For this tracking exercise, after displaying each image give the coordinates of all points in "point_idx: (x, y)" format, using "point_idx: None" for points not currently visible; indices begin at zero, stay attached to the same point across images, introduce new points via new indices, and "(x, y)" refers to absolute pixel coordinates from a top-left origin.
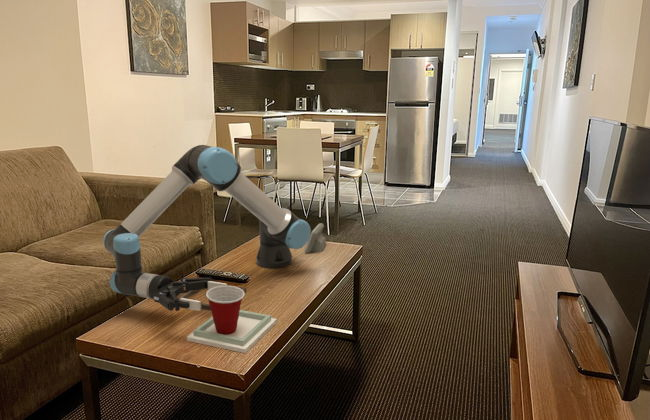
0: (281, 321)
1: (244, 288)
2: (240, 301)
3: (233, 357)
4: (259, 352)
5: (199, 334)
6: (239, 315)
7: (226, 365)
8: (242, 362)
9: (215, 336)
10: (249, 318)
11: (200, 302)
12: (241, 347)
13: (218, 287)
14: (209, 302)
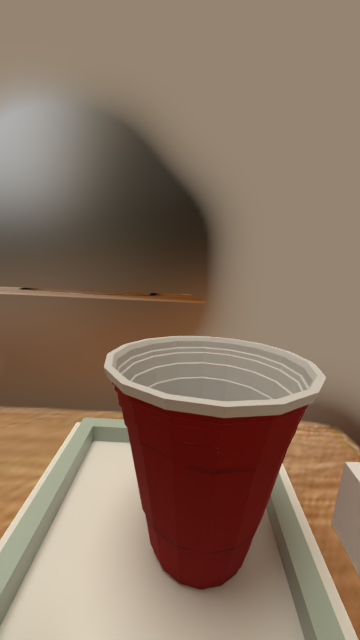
0: (70, 426)
1: None
2: (197, 358)
3: (305, 460)
4: None
5: None
6: (39, 543)
7: (346, 460)
8: (304, 436)
9: (296, 523)
10: (70, 493)
11: (347, 470)
12: None
13: (148, 391)
14: (298, 423)
